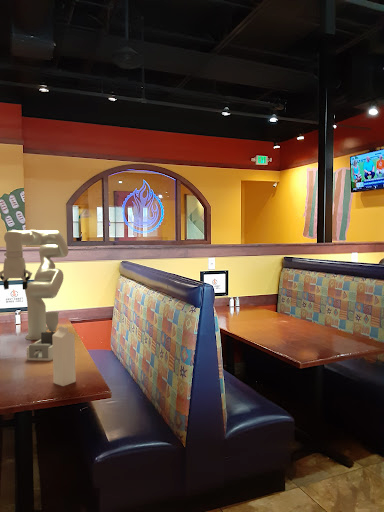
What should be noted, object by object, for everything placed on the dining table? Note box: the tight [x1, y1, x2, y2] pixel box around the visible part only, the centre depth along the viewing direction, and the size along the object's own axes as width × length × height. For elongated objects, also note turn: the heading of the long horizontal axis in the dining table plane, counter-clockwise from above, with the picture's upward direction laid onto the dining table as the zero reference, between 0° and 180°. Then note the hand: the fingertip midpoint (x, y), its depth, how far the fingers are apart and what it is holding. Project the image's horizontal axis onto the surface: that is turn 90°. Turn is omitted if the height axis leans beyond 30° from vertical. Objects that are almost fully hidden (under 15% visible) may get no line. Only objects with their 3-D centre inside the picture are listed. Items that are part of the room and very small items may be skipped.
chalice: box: [44, 310, 60, 332], centre depth 203 cm, size 7×7×18 cm
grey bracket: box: [26, 339, 53, 362], centre depth 199 cm, size 21×11×7 cm, turn 175°
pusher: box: [33, 331, 57, 355], centre depth 192 cm, size 17×8×9 cm, turn 175°
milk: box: [52, 325, 77, 387], centre depth 159 cm, size 6×6×22 cm
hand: (15, 289), depth 207 cm, fingers open, 9 cm apart
